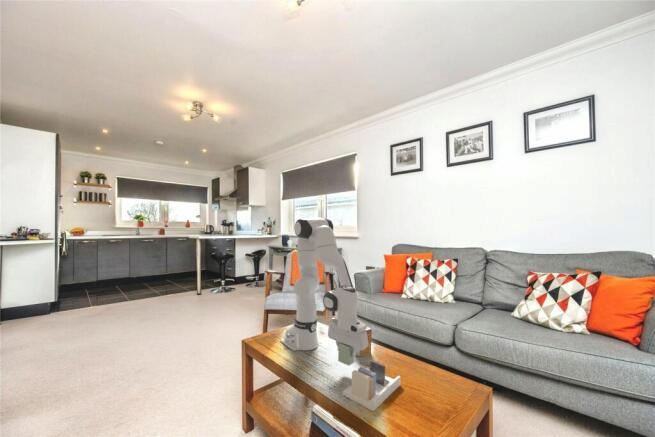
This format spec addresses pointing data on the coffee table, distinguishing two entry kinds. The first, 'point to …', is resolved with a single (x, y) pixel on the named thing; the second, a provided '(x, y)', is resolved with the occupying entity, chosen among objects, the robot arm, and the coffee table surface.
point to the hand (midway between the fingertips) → (346, 353)
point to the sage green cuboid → (345, 354)
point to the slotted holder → (371, 386)
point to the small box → (368, 349)
